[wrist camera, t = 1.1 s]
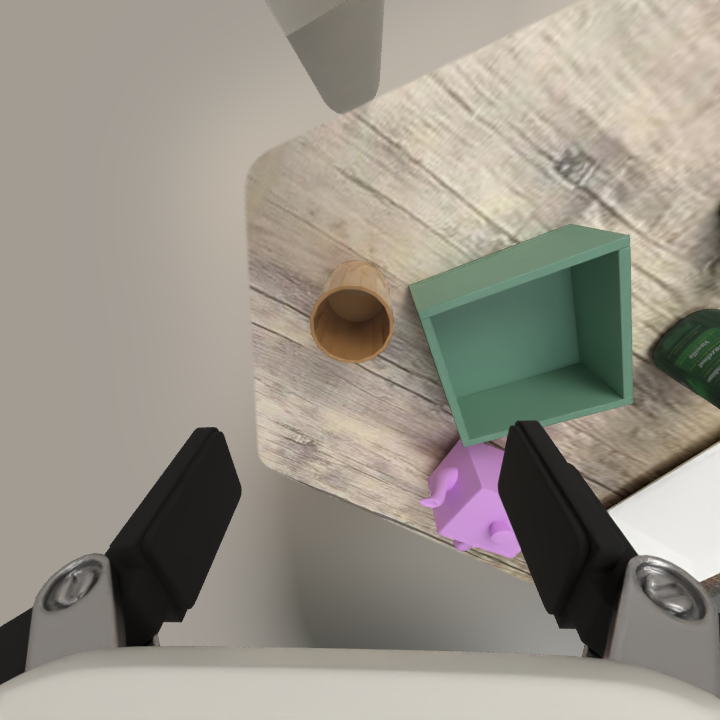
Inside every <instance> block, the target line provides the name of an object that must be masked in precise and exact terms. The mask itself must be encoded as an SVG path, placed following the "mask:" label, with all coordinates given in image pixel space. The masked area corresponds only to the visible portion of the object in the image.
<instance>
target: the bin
mask: <svg viewBox="0 0 720 720" xmlns="http://www.w3.org/2000/svg"><path fill="white" fill-rule="evenodd" d="M409 289H410V292H411V295H412V298H413V301H414V304H415V307H416V310H417V313H418V316H419V318H420V321H421V324H422V327H423V330H424V333H425V336H426V339H427V342H428V345H429V348H430V351H431V354H432V357H433V359H434V362H435V365H436V368H437V371H438V374H439V377H440V380H441V383H442V386H443V389H444V392H445V395H446V398H447V400H448V403H449V406H450V409H451V412H452V415H453V418H454V421H455V424H456V427H457V430H458V432H459V435H460V438H461V441H462V444H463V447H468V446H472V445H476V444H479V443H483V442H487V441H491V440H495V439H499V438H502V437H506V436H508V431H509V427H510V426H512V425H515V422H516V421H524V420H536V421H538V422H539V423H540V424H541V426H542V427H545V426H548V425H552V424H556V423H560V422H564V421H568V420H571V419H575V418H579V417H583V416H587V415H591V414H594V413H598V412H602V411H606V410H610V409H614V408H617V407H621V406H625V405H629V404H633V372H632V314H631V257H630V235H625V234H620V233H615V232H610V231H604V230H599V229H594V228H589V227H584V226H578V225H574V224H569V225H566V226H564V227H561V228H559V229H556V230H553V231H551V232H548V233H545V234H543V235H540V236H538V237H535V238H532V239H530V240H527V241H524V242H522V243H519V244H517V245H514V246H511V247H509V248H506V249H504V250H501V251H498V252H496V253H493V254H490V255H488V256H485V257H483V258H480V259H477V260H475V261H472V262H469V263H467V264H464V265H462V266H459V267H456V268H454V269H451V270H449V271H446V272H443V273H441V274H438V275H435V276H433V277H430V278H428V279H425V280H422V281H420V282H417V283H415V284H412V285H409Z"/></svg>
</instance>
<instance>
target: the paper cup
mask: <svg viewBox="0 0 720 720" xmlns="http://www.w3.org/2000/svg"><path fill="white" fill-rule="evenodd" d="M393 324H394V318H393V312H392V305H391V299H390V292H389V287H388V284H387V281H386V279H385V277H384V275H383V274H382V273H381V272H380V271H379V270H378V269H377V268H376V267H375V266H373V265H371V264H369V263H366V262H363V261H350V262H346V263H344V264H342V265H340V266H338V267H337V268H336V269H335V270H334V271H333V272H332V273H331V274H330V275H329V276H328V278H327V280H326V282H325V284H324V286H323V288H322V290H321V292H320V294H319V296H318V298H317V300H316V302H315V305H314V307H313V310H312V313H311V316H310V329H311V335H312V337H313V339H314V340H315V342H316V344H317V346H318V348H320V349H321V350H322V351H323V352H324V353H325V354H326V355H328V356H329V357H330V358H333V359H336V360H338V361H341V362H343V363H362V362H364V361H367V360H370V359H373V358H375V357H376V356H377V355H379V354H380V353H381V352H382V351H383V350H385V349H386V347H387V345H388V343H389V341H390V339H391V338H392V336H393Z"/></svg>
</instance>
